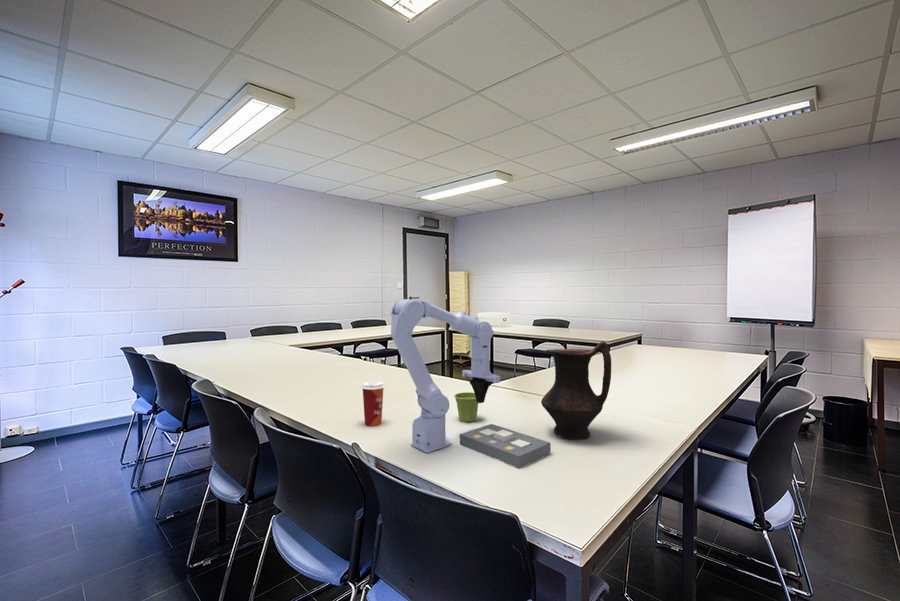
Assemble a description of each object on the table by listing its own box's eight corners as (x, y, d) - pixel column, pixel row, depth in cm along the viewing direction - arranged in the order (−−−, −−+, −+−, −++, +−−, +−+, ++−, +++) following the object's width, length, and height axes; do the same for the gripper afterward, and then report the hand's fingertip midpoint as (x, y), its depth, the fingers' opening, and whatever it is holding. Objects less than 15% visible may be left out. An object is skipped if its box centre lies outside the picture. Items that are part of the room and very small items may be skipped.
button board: (518, 468, 99) (518, 455, 99) (459, 444, 116) (459, 433, 116) (550, 453, 109) (550, 442, 109) (491, 433, 125) (491, 423, 125)
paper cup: (382, 427, 131) (382, 385, 131) (359, 427, 131) (359, 385, 131) (386, 419, 139) (386, 380, 139) (364, 419, 139) (364, 380, 139)
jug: (533, 439, 120) (533, 341, 119) (548, 422, 136) (548, 336, 136) (607, 451, 110) (608, 345, 110) (614, 431, 126) (614, 338, 126)
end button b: (521, 458, 105) (521, 446, 105) (510, 453, 108) (510, 442, 108) (530, 454, 108) (530, 443, 108) (519, 449, 111) (519, 439, 110)
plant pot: (471, 425, 132) (471, 400, 132) (449, 420, 138) (449, 396, 138) (485, 418, 140) (485, 394, 140) (464, 414, 145) (464, 391, 145)
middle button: (504, 447, 109) (504, 436, 109) (493, 443, 112) (493, 432, 112) (513, 443, 112) (513, 433, 112) (502, 439, 115) (502, 429, 115)
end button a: (488, 445, 114) (488, 435, 114) (478, 441, 117) (478, 431, 117) (497, 442, 116) (497, 432, 116) (487, 438, 119) (487, 428, 119)
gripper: (506, 360, 120) (506, 404, 120) (473, 355, 131) (473, 395, 131) (491, 363, 115) (491, 409, 116) (457, 357, 126) (457, 399, 126)
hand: (480, 402), depth 123 cm, fingers closed
